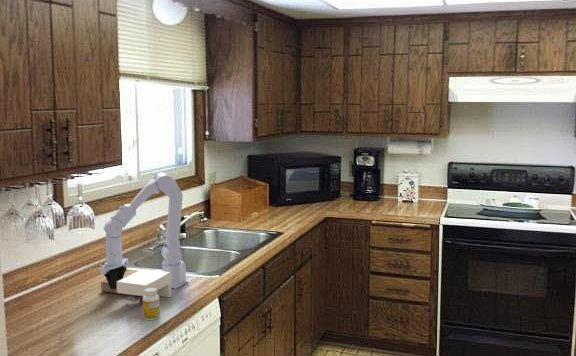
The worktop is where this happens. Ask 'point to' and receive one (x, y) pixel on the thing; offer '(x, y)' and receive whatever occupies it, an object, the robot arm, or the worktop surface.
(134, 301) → the clear glass cup
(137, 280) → the cream step stool
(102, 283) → the tan long block
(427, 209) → the worktop surface
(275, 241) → the worktop surface
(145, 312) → the supplement bottle
